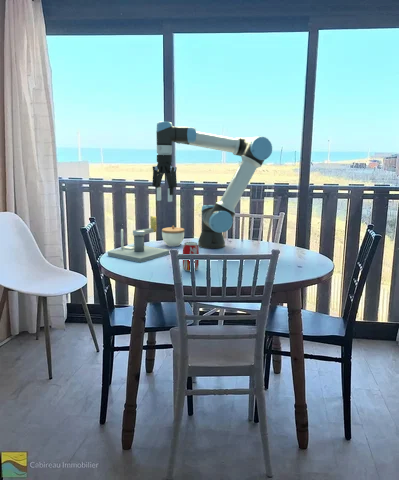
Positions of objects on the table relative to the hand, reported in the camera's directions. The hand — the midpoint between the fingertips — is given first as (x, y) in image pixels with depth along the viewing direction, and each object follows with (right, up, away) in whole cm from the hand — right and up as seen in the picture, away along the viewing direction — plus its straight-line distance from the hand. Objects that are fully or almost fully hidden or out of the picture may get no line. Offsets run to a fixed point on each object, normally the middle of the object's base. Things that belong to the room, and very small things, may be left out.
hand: (164, 200), depth 207 cm
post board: (-13, -27, +1) cm, 30 cm away
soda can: (+14, -33, -25) cm, 44 cm away
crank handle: (-10, -16, +2) cm, 19 cm away
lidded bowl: (+3, -23, +25) cm, 34 cm away
